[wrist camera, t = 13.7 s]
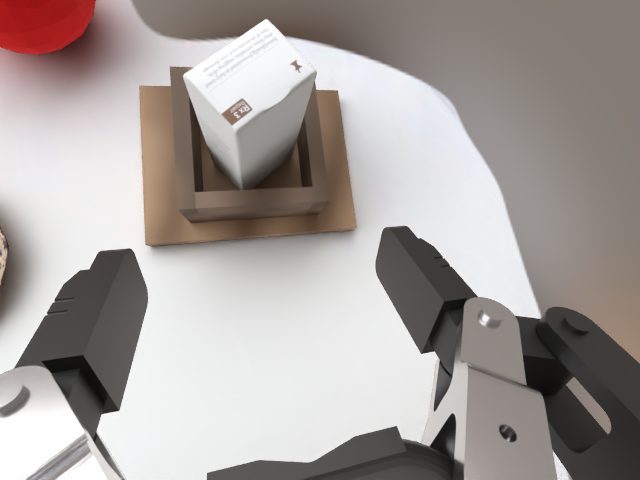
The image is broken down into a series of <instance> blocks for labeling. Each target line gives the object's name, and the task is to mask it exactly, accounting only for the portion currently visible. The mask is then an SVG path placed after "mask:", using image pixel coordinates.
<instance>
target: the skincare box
mask: <svg viewBox="0 0 640 480" xmlns="http://www.w3.org/2000/svg"><path fill="white" fill-rule="evenodd" d="M316 74H317V72H316V70H315V69H314V68H313V67H312V66H311V65H310V63H309V62H308V61H307V60H306V59H305V58H304V57H303V56H302V55H301V54H300V53H299V52H298V51H297V49H296V48H295V47H294V46H293V45H292V44H291V43H290V42H289V41H288V40H287V39H286V38H285V37H284V36H283V35H282V33H281V32H280V31H279V30H278V29H277V28H276V27H275V26H273V24H271V23H270V22H269V21H268V20H267V19H266V20H264V21H262V22H261V23H259V24H258V25H257V26H255V27H254V28H252V29H251V30H249V31H248V32H246V33H245V34H243V35H242V36H241V37H239V38H238V39H236V40H235V41H233V42H232V43H230V44H229V45H227V46H226V47H224V48H223V49H221V50H220V51H218V52H217V53H215V54H214V55H212V56H211V57H209V58H208V59H206V60H205V61H203V62H202V63H200V64H199V65H197V66H196V67H194V68H193V69H191V70H190V71H188V72H187V73H185V74H184V75H183V79H184V82H185V84H186V88H187V90H188V93H189V96H190V99H191V102H192V104H193V107H194V110H195V113H196V116H197V118H198V121H199V124H200V127H201V130H202V133H203V135H204V139H205V141H206V144H207V147H208V150H209V153H210V156H211V158H212V161H213V162H214V163H215V164H216V165H217V166H218V167H219V169H220V170H221V171H222V172H223V173H224V174H225V175H226V176H227V177H228V178H229V179H230V181H231V182H232V183H233V184H234V185H235V186H236V187H237V188H238V189H239V190H251V189H253V188H254V187H255V186H256V185H258V184H259V183H260V182H261V181H262V180H264V179H265V178H266V177H267V176H269V175H270V174H271V173H272V172H273V171H275V170H276V169H277V168H278V167H280V166H281V165H282V164H283V163H284V162H286V161H287V160H288V159H289V158H290V157H292V155H293V151H294V148H295V145H296V142H297V138H298V135H299V131H300V128H301V124H302V121H303V118H304V114H305V111H306V108H307V105H308V101H309V98H310V95H311V92H312V88H313V85H314V81H315V78H316Z"/></svg>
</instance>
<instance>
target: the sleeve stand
mask: <svg viewBox="0 0 640 480" xmlns="http://www.w3.org/2000/svg"><path fill="white" fill-rule="evenodd" d="M191 69H193V68H192V67H170V76H171V86H139V89H140V115H141V141H142V167H143V193H144V220H145V244H146V245H148V246H162V245H175V244H187V243H200V242H212V241H224V240H237V239H249V238H262V237H274V236H287V235H299V234H312V233H324V232H336V231H349V230H354V229H355V228H356V222H355V214H354V207H353V199H352V192H351V185H350V177H349V170H348V162H347V155H346V147H345V140H344V132H343V125H342V118H341V110H340V103H339V95H338V91H334V90H316V86H315V81H314V85H313V88H312V92H311V95H310V98H309V101H308V105H307V108H306V111H305V114H304V118H303V121H302V124H301V128H300V131H299V135H298V138H297V142H296V145H295V148H294V151H293V155H292V157H290V158H289V159H288V160H287V161H286V162H284V163H283V164H282V165H281V166H280V167H278V168H277V169H276V170H275V171H273V172H272V173H271V174H270V175H269V176H267V177H266V178H265V179H264V180H262V181H261V182H260V183H259V184H258V185H256V186H255V187H254V188H253V189H251V190H239V189H238V188H237V187H236V186H235V185H234V184H233V183H232V182H231V181H230V179H229V178H228V177H227V176H226V175H225V174H224V173H223V172H222V171H221V170H220V169H219V167H218V166H217V165H216V164H215V163H214V162H213V161H212V158H211V156H210V153H209V150H208V147H207V144H206V141H205V139H204V135H203V133H202V130H201V127H200V124H199V121H198V118H197V116H196V113H195V110H194V107H193V104H192V102H191V99H190V96H189V93H188V90H187V88H186V84H185V82H184V79H183V75H184V74H185V73H187V72H188V71H190V70H191Z"/></svg>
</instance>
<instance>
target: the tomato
mask: <svg viewBox="0 0 640 480" xmlns="http://www.w3.org/2000/svg"><path fill="white" fill-rule="evenodd" d="M95 1H96V0H0V47H1V48H4V49H8V50H11V51H14V52H17V53H26V54H37V55H40V54H45V53H49V52H53V51H57V50H61V49H63V48H64V47H66V46H67V45H69V44H70V43H71V42H73V41H74V40H76V39H77V38H79V37H80V36H82V35H83V33H84V31H85V29H86V28H87V26H88V24H89V22H90V20H91V18H92V17H93V14H94V8H95Z"/></svg>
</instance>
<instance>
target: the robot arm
mask: <svg viewBox="0 0 640 480" xmlns="http://www.w3.org/2000/svg"><path fill="white" fill-rule="evenodd" d="M442 257H443V256H442V255H441V254H440V253H439V252H438V251H437V250H436V249H435V247H434V246H432V245H431V244H429V243H427V242H426V241H424V240H423V239H421V238H420V239H418V238H417V237H416V236H415V235H414V233H413V232H412V231H411V230H410V229H409V228H408V227H407V226H397V227H386V228H384V230H383V232H382V235H381V240H380V244H379V249H378V253H377V258H376V273H377V276H378V278H379V280H380V282H381V284H382V285H383V287H384V289H385V291H386V293H387V294H388V296H389V298H390V300H391V301H392V303H393V305H394V307H395V308H396V310H397V312H398V314H399V315H400V317H401V319H402V321H403V323H404V324H405V326H406V328H407V330H408V331H409V333H410V335H411V337H412V338H413V340H414V342H415V344H416V345H417V347H418V349H419V351H420V352H421V354H423V353H428V352H433V351H435V353H436V354H437V356H438V359H437V361H436V365H435V372H434V380H433V387H432V394H431V401H430V408H429V415H428V420H427V424H426V427H425V430H424V433H423V437H422V440H421V443H419V442H415V441H410V440H406V439H402V438H401V436H400V433H399V431H398V428H397V426H395V427H391V428H387V429H383V430H379V431H375V432H371V433H367V434H363V435H359V436H355V437H353V438H352V439H350V440H348V441H347V442H345V443H343V444H342V445H340V446H338V447H337V448H335V449H334V450H332V451H330V452H329V453H327V454H325V455H324V456H322V457H320V458H319V459H317V460H315V461H313V462H309V463H303V462H283V461H264V460H258V461H254V462H250V463H246V464H242V465H238V466H234V467H230V468H226V469H222V470H218V471H214V472H210V473H207V480H557V475H556V469H555V463H554V457H553V451H554V452H555V454H556V455H557V457H558V458H559V460H560V461H561V463H562V464H563V465H564V467H565V468H566V470H567V471H568V473H569V474H570V476H571V477H572V479H573V480H640V364H639V363H638V362H637V361H636V360H635V359H634V358H633V357H632V356H631V355H629V354H628V353H627V352H626V351H625V350H624V349H623V348H622V347H621V346H619V345H618V344H617V343H616V342H615V341H614V340H613V339H612V338H611V337H610V336H608V335H607V334H606V333H605V332H604V331H603V330H602V329H601V328H600V327H598V326H597V325H596V324H595V323H594V322H593V321H592V320H590V319H589V318H587V317H586V316H584V315H582V314H580V313H578V312H576V311H574V310H571V309H568V308H563V307H552V308H549V309H548V310H547V311H546V312H545V313H544V315H543V316H542V318H541V319H536V318H528V317H520V316H514V314H513V313H512V312H511V311H510V310H509V309H508V308H506V307H505V306H504V305H502V304H500V303H498V302H496V301H494V300H491V299H488V298H483V297H478V296H477V295H476V294H475V293H474V292H473V291H472V290H471V288H470V287H469V286H468V285H467V284H466V283H465V282H464V280H463V279H462V278H461V277H460V276H459V275H458V274H457V272H456V271H455V270H454V269H453V268H452V267H450V264H449V263H448V262H447V261H446V260H445V259H443V258H442ZM147 303H148V292H147V287H146V284H145V281H144V278H143V276H142V273H141V270H140V268H139V265H138V262H137V259H136V257H135V254H134V252H133V251H132V249H118V250H107V251H100V252H99V253H98V254H97V256H96V258H95V260H94V262H93V264H92V265H91V267H90V269H89V270H80V271H79V272H78V273H77V274H75V275H74V276H73V277H72V278H71V279H70V280H68V281H67V282H66V283H65V284H64V285H63V287H62V288H61V290H60V292H59V293H58V295H57V297H56V298H55V303H52V305H51V307H50V309H49V310H48V312H47V314H48V315H47V316H45V317H44V319H43V320H42V322H41V324H40V326H39V327H38V329H37V331H36V332H35V334H34V336H33V337H32V339H31V341H30V342H29V344H28V346H27V348H26V349H25V351H24V353H23V354H22V356H21V358H20V359H19V361H18V363H17V364H16V366H15V368H14V369H12V370H10V371H7V372H5V373H3V374H0V480H127V479H126V477H125V476H124V474H123V473H122V471H121V469H120V468H119V466H118V464H117V463H116V461H115V459H114V458H113V456H112V454H111V453H110V451H109V449H108V448H107V446H106V444H105V443H104V441H103V440H102V438H101V436H100V435H99V433H98V432H97V427H98V424H99V421H100V417H101V414H104V413H109V412H115V411H119V410H120V406H121V402H122V399H123V395H124V391H125V387H126V384H127V380H128V376H129V372H130V369H131V365H132V361H133V357H134V353H135V350H136V346H137V342H138V338H139V335H140V331H141V327H142V323H143V320H144V316H145V312H146V308H147ZM573 377H575V378H576V379H577V380H578V381H579V383H580V384H581V385H582V386H583V387H584V388H585V389H586V390H587V392H588V393H589V394H590V395H591V396H592V397H593V398H594V399H595V400H596V402H597V403H598V404H599V405H600V406H601V407H602V408H603V410H604V411H605V412H606V414H607V415H608V417H609V419H610V422H611V432H610V433H609V434H607V433H606V432H605V431H604V430H603V428H602V427H601V426H600V425H599V424H598V422H597V421H596V420H595V419H594V418H593V417H592V415H591V414H590V413H589V412H588V411H587V409H586V408H585V407H584V406H583V405H582V404H581V402H580V401H579V400H578V399H577V398H576V396H575V395H574V394H573V393H572V392H571V390H570V389H569V388H568V387H567V386H566V384H567V383H568V382H569V381H570V380H571V379H572V378H573ZM552 449H553V451H552Z"/></svg>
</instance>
